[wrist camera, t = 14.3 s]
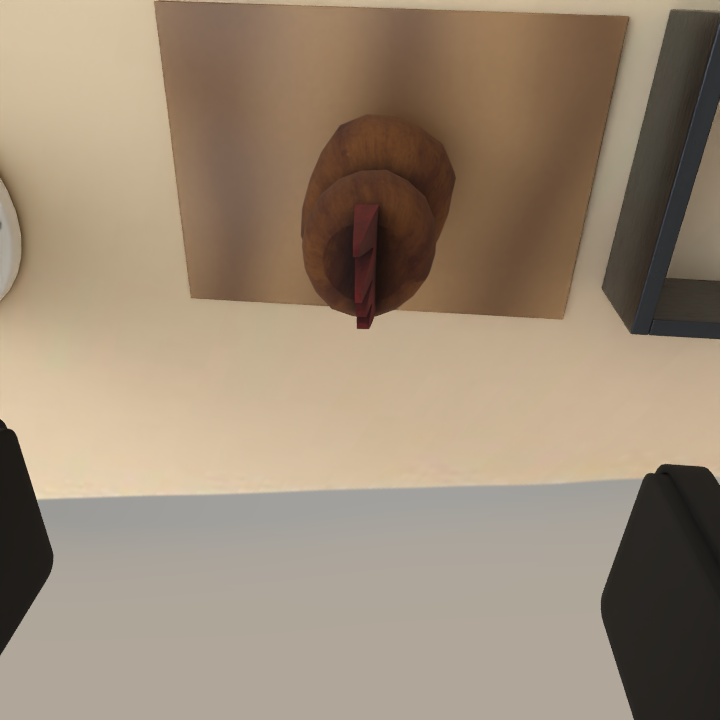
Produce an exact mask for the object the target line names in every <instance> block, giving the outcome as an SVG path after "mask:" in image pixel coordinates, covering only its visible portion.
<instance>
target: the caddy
mask: <svg viewBox="0 0 720 720" xmlns="http://www.w3.org/2000/svg"><path fill="white" fill-rule="evenodd" d="M719 99H720V11H710V10H679V9H672V10H671V12H670V16H669V20H668V24H667V28H666V32H665V36H664V40H663V44H662V48H661V52H660V56H659V60H658V64H657V68H656V72H655V76H654V80H653V84H652V88H651V92H650V96H649V100H648V104H647V108H646V112H645V116H644V120H643V124H642V128H641V132H640V136H639V140H638V144H637V149H636V153H635V157H634V161H633V165H632V169H631V173H630V177H629V181H628V185H627V189H626V193H625V197H624V201H623V205H622V209H621V213H620V217H619V221H618V225H617V229H616V233H615V237H614V241H613V245H612V249H611V253H610V257H609V261H608V265H607V269H606V273H605V277H604V281H603V286H602V290H603V291H604V293H605V295H606V296H607V298H608V299H609V301H610V302H611V304H612V305H613V307H614V309H615V310H616V312H617V313H618V315H619V316H620V318H621V319H622V321H623V323H624V324H625V326H626V327H627V329H628V330H629V332H630V333H631V334H640V335H648V334H649V335H657V336H675V337H692V338H709V339H720V281H706V280H688V279H669V278H665V277H666V274H667V271H668V267H669V264H670V261H671V257H672V254H673V251H674V248H675V244H676V241H677V238H678V234H679V231H680V228H681V224H682V221H683V218H684V214H685V211H686V208H687V205H688V201H689V198H690V195H691V191H692V188H693V185H694V181H695V178H696V175H697V172H698V168H699V165H700V162H701V158H702V155H703V152H704V148H705V145H706V142H707V139H708V135H709V132H710V129H711V125H712V122H713V119H714V115H715V112H716V109H717V105H718V102H719Z"/></svg>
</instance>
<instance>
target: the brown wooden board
mask: <svg viewBox="0 0 720 720" xmlns="http://www.w3.org/2000/svg"><path fill="white" fill-rule="evenodd" d="M154 5H155V13H156V21H157V29H158V37H159V45H160V53H161V61H162V69H163V77H164V85H165V93H166V101H167V109H168V117H169V125H170V133H171V141H172V149H173V157H174V166H175V174H176V182H177V190H178V198H179V206H180V214H181V222H182V230H183V238H184V246H185V254H186V262H187V270H188V278H189V286H190V294H191V298H198V299H215V300H233V301H250V302H268V303H285V304H303V305H320V306H329V305H328V304H327V303H326V302H325V301H324V300H323V299H322V298H321V297H320V296H319V295H318V294H317V293H316V291H315V289H314V287H313V285H312V283H311V281H310V279H309V277H308V275H307V273H306V270H305V267H304V259H303V251H302V241H303V240H302V238H301V219H302V207H303V203H304V199H305V195H306V191H307V188H308V184H309V181H310V177H311V175H312V173H313V170H314V168H315V166H316V163H317V161H318V159H319V156H320V154H321V152H322V150H323V149H324V147H325V146H326V144H327V143H328V141H329V140H330V139H331V137H332V136H333V134H334V133H335V131H336V130H337V129H338V127H339V126H340V125H342V124H344V123H347V122H349V121H351V120H354V119H356V118H359V117H361V116H364V115H366V114H370V115H382V116H395V117H398V118H400V119H402V120H405V121H407V122H409V123H412V124H414V125H416V126H418V127H421V128H422V129H423V130H425V131H426V132H427V133H429V134H430V135H431V136H433V137H434V138H435V139H437V140H438V141H439V142H440V143H442V144H443V145H444V148H445V150H446V153H447V155H448V158H449V160H450V162H451V165H452V167H453V170H454V172H455V176H456V180H455V184H454V189H453V193H452V197H451V203H450V209H449V214H448V216H447V219H446V221H445V224H444V227H443V229H442V232H441V234H440V237H439V239H438V241H437V242H436V252H435V257H434V260H433V263H432V267H431V270H430V273H429V275H428V277H427V279H426V280H425V281H424V283H423V284H422V285H421V287H420V288H419V289H418V291H417V292H416V293H415V294H414V296H413V297H411V298H410V299H409V300H407V301H406V302H405V303H403V304H402V305H401V306H400V307H398V308H397V309H394V310H408V311H425V312H443V313H460V314H478V315H495V316H513V317H530V318H547V319H563V317H564V312H565V307H566V303H567V298H568V294H569V289H570V285H571V280H572V276H573V271H574V266H575V262H576V257H577V253H578V248H579V244H580V239H581V234H582V230H583V225H584V221H585V216H586V212H587V207H588V203H589V198H590V193H591V189H592V184H593V180H594V175H595V171H596V166H597V161H598V157H599V152H600V148H601V143H602V139H603V134H604V130H605V125H606V120H607V116H608V111H609V107H610V102H611V98H612V93H613V88H614V84H615V79H616V75H617V70H618V66H619V61H620V57H621V52H622V47H623V43H624V38H625V34H626V29H627V25H628V20H629V17H628V16H607V15H576V14H546V13H515V12H485V11H454V10H424V9H393V8H363V7H332V6H302V5H272V4H241V3H211V2H180V1H154Z"/></svg>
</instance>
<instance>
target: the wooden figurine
mask: <svg viewBox="0 0 720 720" xmlns="http://www.w3.org/2000/svg"><path fill="white" fill-rule="evenodd" d="M455 180H456V176H455V172H454V170H453V167H452V165H451V162H450V160H449V158H448V155H447V153H446V150H445V148H444V145H443V144H442V143H440V142H439V141H438V140H437V139H435V138H434V137H433V136H431V135H430V134H429V133H427V132H426V131H425V130H423V129H422V128H421V127H418V126H416V125H414V124H412V123H409V122H407V121H405V120H402V119H400V118H398V117H395V116H382V115H370V114H366V115H364V116H361V117H359V118H356V119H354V120H351V121H349V122H347V123H344V124H342V125H340V126H339V127H338V129H337V130H336V131H335V133H334V134H333V136H332V137H331V139H330V140H329V141H328V143H327V144H326V146H325V147H324V149H323V150H322V152H321V154H320V156H319V159H318V161H317V163H316V166H315V168H314V170H313V173H312V175H311V177H310V181H309V184H308V188H307V191H306V195H305V199H304V203H303V207H302V219H301V238H302V240H303V241H302V251H303V259H304V267H305V270H306V273H307V275H308V277H309V279H310V281H311V283H312V285H313V287H314V289H315V291H316V293H317V294H318V295H319V296H320V297H321V298H322V299H323V300H324V301H325V302H326V303H327V304H328V305H329V306H330V307H331V308H332V309H334V310H337V311H340V312H343V313H346V314H349V315H352V316H356V317H357V329H369V328H370V326H371V324H372V321H373V319H374V316H378V315H381V314H383V313H386V312H389V311H392V310H394V309H397V308H398V307H400V306H401V305H402V304H403V303H405V302H406V301H407V300H409V299H410V298H411V297H413V296H414V294H415V293H416V292H417V291H418V289H419V288H420V287H421V285H422V284H423V283H424V281H425V280H426V279H427V277H428V275H429V273H430V270H431V267H432V263H433V260H434V257H435V252H436V242H437V241H438V239H439V237H440V234H441V232H442V229H443V227H444V224H445V221H446V219H447V216H448V214H449V209H450V203H451V197H452V193H453V189H454V184H455Z"/></svg>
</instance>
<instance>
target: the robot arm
mask: <svg viewBox="0 0 720 720" xmlns="http://www.w3.org/2000/svg"><path fill="white" fill-rule="evenodd" d="M20 260H21V232H20V227H19V223H18V218H17V214H16V211H15V208H14V206H13V203H12V201H11V198H10V196H9V193H8V191H7V189H6V187H5V185H4V184H3V182H2V180H1V178H0V300H1V299H2V298H3V297H4V296H5V295H6V293H7V292H8V291H9V290H10V289H11V287H12V284H13V282H14V280H15V278H16V276H17V274H18V270H19V265H20ZM52 565H53V551H52V548H51V545H50V542H49V538H48V535H47V532H46V529H45V525H44V522H43V519H42V516H41V513H40V509H39V506H38V503H37V500H36V496H35V493H34V490H33V487H32V484H31V480H30V477H29V474H28V471H27V468H26V464H25V461H24V458H23V455H22V452H21V448H20V445H19V442H18V439H17V436H16V434H15V432H14V431H13V430H11V429H7V427H6V425H5V423H4V422H3V421H2V420H1V419H0V655H1V653H2V652H3V650H4V648H5V647H6V645H7V644H8V642H9V640H10V639H11V637H12V636H13V634H14V632H15V631H16V629H17V627H18V626H19V624H20V623H21V621H22V619H23V617H24V616H25V614H26V613H27V611H28V609H29V608H30V606H31V605H32V603H33V601H34V600H35V598H36V596H37V595H38V593H39V592H40V590H41V588H42V587H43V585H44V583H45V582H46V580H47V578H48V577H49V575H50V572H51V569H52ZM601 613H602V619H603V623H604V626H605V629H606V632H607V636H608V638H609V642H610V645H611V648H612V651H613V655H614V658H615V661H616V664H617V667H618V670H619V674H620V677H621V680H622V683H623V686H624V689H625V692H626V696H627V699H628V702H629V705H630V708H631V711H632V715H633V718H634V720H720V485H719V483H718V482H717V480H716V479H715V477H714V476H713V474H712V473H711V472H710V471H709V469H707V468H705V467H700V466H685V465H671V464H664V465H661V466H660V467H659V468H658V469H657V471H656V473H655V474H654V473H649V474H647V475H646V476H645V477H644V479H643V481H642V484H641V487H640V490H639V492H638V495H637V498H636V501H635V504H634V506H633V509H632V512H631V515H630V518H629V520H628V523H627V526H626V529H625V532H624V534H623V537H622V540H621V543H620V546H619V548H618V552H617V554H616V557H615V560H614V563H613V565H612V568H611V571H610V574H609V577H608V579H607V582H606V585H605V588H604V591H603V593H602V598H601Z"/></svg>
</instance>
